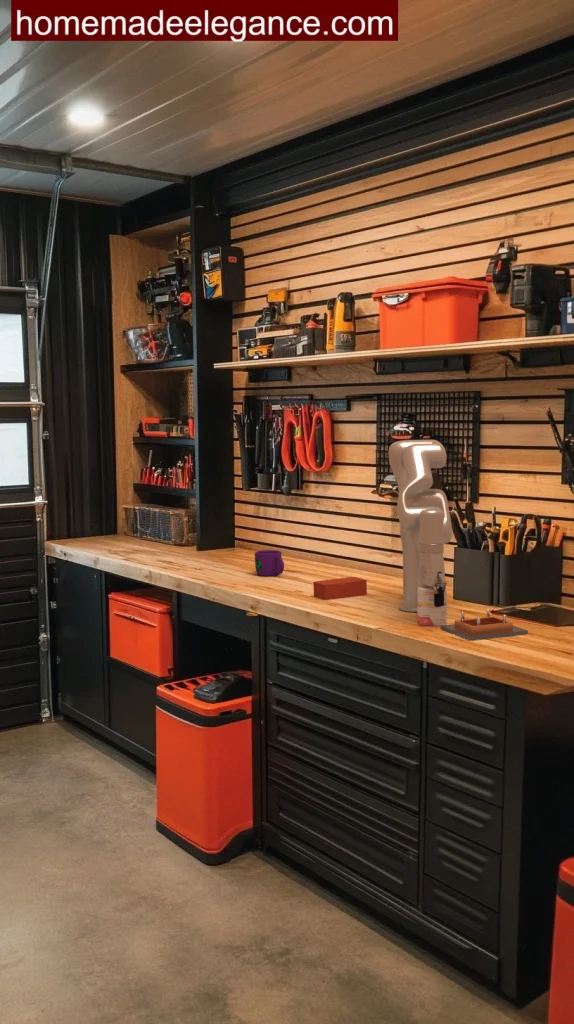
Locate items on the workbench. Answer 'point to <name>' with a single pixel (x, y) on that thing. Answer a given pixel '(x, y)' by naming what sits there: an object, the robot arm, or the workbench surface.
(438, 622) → the ink cartridge box
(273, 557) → the mug
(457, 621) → the cartridge tray
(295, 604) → the workbench surface
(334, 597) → the brick
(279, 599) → the workbench surface
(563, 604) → the workbench surface
